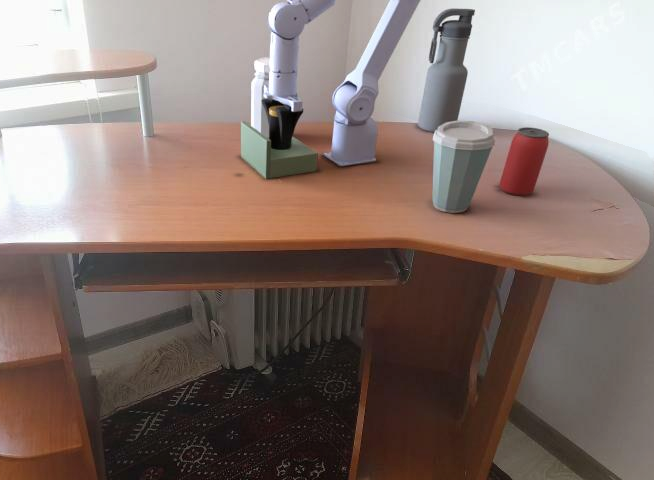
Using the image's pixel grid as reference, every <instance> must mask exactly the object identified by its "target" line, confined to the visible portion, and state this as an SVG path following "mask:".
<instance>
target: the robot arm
mask: <svg viewBox="0 0 654 480" xmlns="http://www.w3.org/2000/svg"><path fill="white" fill-rule="evenodd" d="M420 2H421V0H389V2H388V4H387V6H386V8H385V10H384V11H383V13H382V15H381V17H380V19H379V21H378V23H377V25H376V28H375V29H374V31H373V33H372V35H371V37H370V39H369V41H368V44H367V45H366V48H365V49H364V51H363V53H362V55H361V57H360V58H359V59H360V60H359V61H358V63H357V64H356V67H355V68H354V70H352V71H351V72H350V73H348V74H347V75H346V77H345V79H344V81H343V82H342V83H341V84H340V85H339V86H338V87H337V88H336V89H335V90H334V92H333V94H332V97H331V98H332V100H331V101H332V105H333V107H334V109H335V110H336V112H335V115H334V118H333V119H334V122H333V130H332V142H331V151H330V152H324V153H323V156H324V157H325V158H327V159H328V160H329V161H331V162H333V163H334V164H336V165H337V166H338V167H347V166H353V165H354V166H355V165H360V164H361V165H362V164H367V163H374V162H377V158H376V157H375V155H376V149H377V141H378V133H379V130H378V125H377V122H376V121H375V119H373V118H372V116H373V113H374V110H375V105H376V104H375V103H376V100H377V97H378V95H379V80H380V78H381V76H382V74H383V72H384V70H385V68H386V66H387V64H388V63H389V61H390V59H391V57H392V55H393V53H394V52H395V50H396V48H397V46H398V44H399V42H400V40H401V38H402V37H403V35H404V33H405V31H406V29H407V27H408V25H409V22H411V19H412V18H413V15H414V13H415V11H416V9H417V8H418V6H419V4H420ZM335 4H336V0H286V2H284V1H281V2H278V3H276V4H275V5H273V7H272V8H271V9H270V11H269V13H268V16H267V17H266V22H267V26H268V28H269V30H270V45H269V57H270V65H269V85H264V97H265V98H266V99H263V100H262V104H263V106H264V109H265V111H266V114H267V118H268V123H269V108H270V107H272V106H278V105H283V106H284V107H278V108H275V110H276V113H277V115H278V119H279V124H280V137H281V141H282V142H286V141H291V139H292V136H293V137H294V133H295V129H296V126H297V124H298V121H299V120H300V118H301V117H302V115H303V113H304V108H303V104H304V103H303V102H304V101H303V100H301V98H300V97H299V94H298V92H297V86H298V85H297V84H298V68H299V66H298V65H299V54H300V53H299V50H300V49H299V48H300V45H299V44H300V43H299V42H300V35H301V34H302V33H303V31H304V29H305V26H306V25H308V24H309V23H311V22H312V21H314V20H315V19H317V18H318V17H320V16H321V15H322V14H324V13H325V12H327V11H328V10H329V9H331V8H332V7H333V6H334V5H335Z"/></svg>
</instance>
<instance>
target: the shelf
mask: <svg viewBox="0 0 654 480" xmlns="http://www.w3.org/2000/svg"><path fill="white" fill-rule="evenodd" d="M318 155H319V153H318V152H316V150H313V149H312V148H310V147H309V146H308V145H307V144H304V143H303V142H302V141H300V140H299V139H297V138H296V137H294V135H293V136H292V145H291V148H289V149H286V150H276V149H272V148H271V140H270V139H269V136H268V137H265V136H264V135H263V134H261V133H260V132H259V131H257V130H256V129H255V128H253V127H252V126H251V124H249V123H248V122H247V121H240V158H241V159H243V160H244V161H245V162H246V163H247V164H248V165H250V166H251V168H253V169H254V170H255V171H256V172H257V173H258V174H260V175H261V177H263V178H264V179H266V180H267V179H273V178H280V177H287V176H292V175H293V176H294V175H298V174H306V173H313V172H317V165H318Z"/></svg>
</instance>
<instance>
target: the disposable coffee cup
mask: <svg viewBox="0 0 654 480" xmlns="http://www.w3.org/2000/svg"><path fill="white" fill-rule="evenodd" d="M432 141H433V170H432V177H433V178H432V204H433V205H432V206H433V207H434V208H435V209H436V210H438V211H441V212H443V213H449V214H458V213H459V214H460V213H463V212H465V211H467V209H468V207H470V205H471V203H472V200H473V198H474V195H475V192H476V189H477V187H478V185H479V182H480V180H481V177H482V175H483V173H484V170H485V167H486V164H487V163H488V159H489V157H490V154H491V152H492V150H493V147H495V144H496V143H495V141H496V138H495V135H494V129H493V128H492V127H490V126H489V125H487V124H486V123H482V122H478V121H472V120H461V119H460V120H459V119H458V120H457V121H452V122H446V123H444V124H442V125H440V126H439V127H438V130H436V131H435V132H433V136H432Z"/></svg>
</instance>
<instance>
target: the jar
mask: <svg viewBox="0 0 654 480" xmlns="http://www.w3.org/2000/svg"><path fill="white" fill-rule="evenodd" d="M269 65H270V56H267V57H265V56H264V57H259V58H257V59H256V60H254V70H255V72H254V76H255V77H254V78H253V79H252V81H251V87H250V89H251V91H250V92H251V96H250V97H251V99H250V100H251V101H250V102H251V103H250V108H251V109H250V125H251V126H252V127H253V128H255V129H256V130H257V131H259V132H260V133H261V134H263V135H264V136H265V137H268V136H269V123H268V118H267V114H266V111H265V109H264V106H263V104H262V100H263V99H266V98H265V97H264V85H269Z"/></svg>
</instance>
